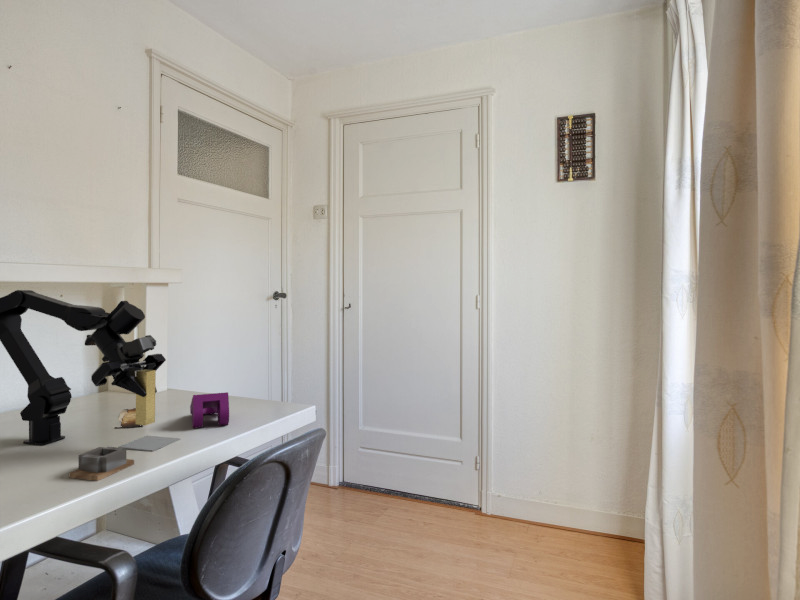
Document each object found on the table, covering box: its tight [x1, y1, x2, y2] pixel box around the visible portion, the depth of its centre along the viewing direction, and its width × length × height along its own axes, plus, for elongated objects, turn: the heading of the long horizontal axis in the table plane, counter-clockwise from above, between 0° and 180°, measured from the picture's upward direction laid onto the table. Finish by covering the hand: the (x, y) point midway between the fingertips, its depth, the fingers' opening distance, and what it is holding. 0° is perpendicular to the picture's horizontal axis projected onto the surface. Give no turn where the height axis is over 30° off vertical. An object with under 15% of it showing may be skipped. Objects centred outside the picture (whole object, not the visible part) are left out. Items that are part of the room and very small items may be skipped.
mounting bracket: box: [189, 392, 230, 429], centre depth 148 cm, size 9×8×18 cm
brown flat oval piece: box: [114, 407, 142, 429], centre depth 152 cm, size 25×10×1 cm, turn 24°
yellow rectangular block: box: [135, 369, 157, 426], centre depth 123 cm, size 3×3×13 cm
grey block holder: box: [68, 446, 135, 482], centre depth 108 cm, size 7×10×4 cm
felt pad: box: [118, 435, 181, 452], centre depth 126 cm, size 10×10×1 cm
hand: (150, 394), depth 122 cm, fingers closed on yellow rectangular block, 3 cm apart
